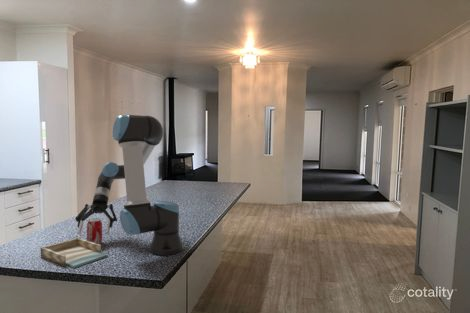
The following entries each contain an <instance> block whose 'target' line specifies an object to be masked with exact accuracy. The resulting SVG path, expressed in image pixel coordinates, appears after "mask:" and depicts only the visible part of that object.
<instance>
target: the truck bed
mask: <svg viewBox="0 0 470 313" xmlns="http://www.w3.org/2000/svg"><path fill="white" fill-rule="evenodd" d="M40 258H44V259H46V260H48V261H51V262H53V263H55V264H58V265H61V266H66V267H67V266H68V267H70V268H73V269H75V268H76V269H77V268H78V267H81V266H84V265H86V264H90V263H93V262H96V261H99V260H102V259H104V258H108V254H106V253H104V252H102V245H101V243H100V244H96V243H93V242H90V241H87V239H83V238H81V237H77V238H73V239H68V240H65V241H61V242H57V243H54V244H49V245H46V246H42V247H40Z"/></svg>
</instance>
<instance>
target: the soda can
mask: <svg viewBox="0 0 470 313" xmlns="http://www.w3.org/2000/svg"><path fill="white" fill-rule="evenodd" d="M86 240H87V241H90V242H93V243H96V244H100V245H101V243H102V241H103V222H102V220H101V218H98V217H97V218H90V219H88V220H87V223H86Z"/></svg>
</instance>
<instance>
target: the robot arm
mask: <svg viewBox="0 0 470 313" xmlns="http://www.w3.org/2000/svg"><path fill="white" fill-rule="evenodd" d="M112 137H113V139H114V141H116V142H117V144H118V146H119V148H121V149H122V158H123V164H120V165H119V164H117V163H116V162H113V161H109V162H106V163H105V164H104V166H103V168H102V169H101V172H100V173H99V175H98V177H97V181H96V182H97V184H96V186H95V187H96V188H95V189H94V195H93V199H92V203H91V204H88V203H86V204H84V207H83V209H82V210H81V211H80V212H79V213H78V214H77V216H76V217H75V218H74V220H76V221H75V222H77V226H76V227H77V228H78V229H77V233H78V235H79V236H81V235H82V231H83V227H84V222H85V221H86V220H87V219H88V218H90V217H91V216H93V215H94V214H104V215H105V216H106V217H107V219H108V220H107V226H106V231H105V232H106V235H110V230H111V228H113V224H114V222H117V221H118V218H117V214H116V213H115V211H114V206H113V203H110V204H109V203H108V202H109V198H110V193H111V189H112V184H113V183H114V181H115V180H124V182H125V183H124V184H125V194H126V202H125V203H124V204H123V208H122V209H121V210H120V213H119V221H120V225H121V228H122V230H123V231H124V233H125V234H127V235H129V236H132V235H140V234H144V233H151V232H153V236H152V239H151V240H152V241H151V244H150V245H149V246H150V247H149V248H150V249H149V250H150V253H151V254H153V255H157V256H170V255H175V254H178V253H180V252H182V251H183V243H182V240H181V236H180V233H179V232H180V229H179V228H180V218H179V217H180V208H179V205H178V204H177V203H176V202H173V201H168V200H167V201H166V200H156V201H154V202H153V205H151V201H150V200H148V197H147V189H146V188H147V187H146V179H145V178H146V177H145V168H144V165H145V164H146V162H147V160H148V159H149V157H150V156H151V154H152V152H153V150H154V149H155V147H156V146H158V145H159V144H160V143H161V141H162V139H163V137H164V128H163V125H162V124H161V122H160V121H159V120H158V119H157V118H156V117H154V116H151V115H137V114H120V115H117V117H116V118H115V120H114V122H113V126H112ZM107 209H108V210H110V212H111V214H110V213H109V212H108V211H107ZM111 215H112V216H111Z"/></svg>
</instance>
